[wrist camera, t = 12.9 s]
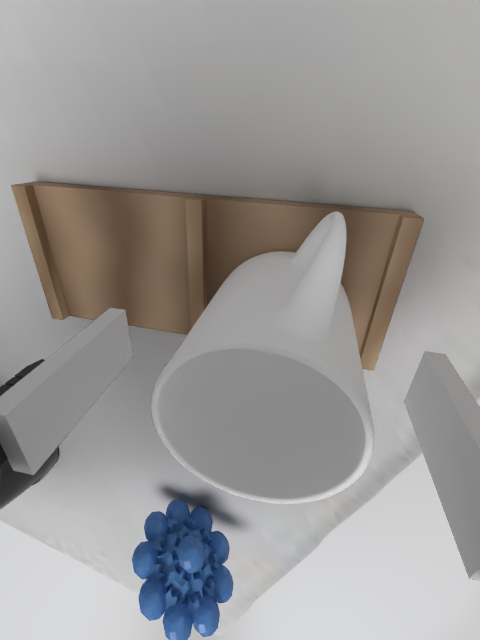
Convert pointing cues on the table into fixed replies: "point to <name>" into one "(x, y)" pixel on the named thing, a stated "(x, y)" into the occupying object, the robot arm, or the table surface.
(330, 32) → the table surface
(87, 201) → the ledge board
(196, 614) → the grapes
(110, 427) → the table surface
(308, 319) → the mug
